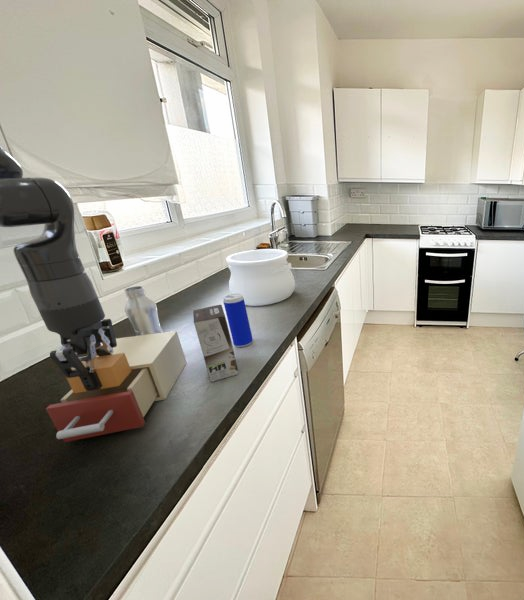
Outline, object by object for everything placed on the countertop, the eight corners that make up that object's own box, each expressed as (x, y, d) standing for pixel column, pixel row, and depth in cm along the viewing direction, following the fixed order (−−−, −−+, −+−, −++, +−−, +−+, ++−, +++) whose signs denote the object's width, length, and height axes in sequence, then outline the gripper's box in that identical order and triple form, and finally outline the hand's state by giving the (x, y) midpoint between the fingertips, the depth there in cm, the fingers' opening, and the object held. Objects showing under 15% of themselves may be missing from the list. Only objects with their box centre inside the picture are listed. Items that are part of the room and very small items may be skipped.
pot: (308, 288, 137) (303, 248, 130) (278, 310, 115) (270, 264, 108) (254, 285, 141) (247, 247, 135) (216, 306, 119) (204, 261, 112)
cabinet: (165, 399, 70) (151, 363, 66) (90, 413, 66) (72, 375, 62) (186, 362, 84) (176, 330, 80) (126, 371, 80) (112, 338, 76)
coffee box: (239, 374, 78) (225, 316, 72) (210, 382, 75) (192, 322, 69) (235, 357, 85) (222, 303, 79) (208, 364, 82) (192, 309, 76)
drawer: (131, 446, 57) (116, 412, 54) (45, 464, 53) (23, 429, 50) (169, 383, 74) (159, 354, 71) (106, 393, 70) (92, 364, 67)
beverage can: (256, 340, 94) (247, 293, 89) (245, 348, 90) (234, 300, 84) (242, 338, 95) (231, 292, 90) (230, 346, 91) (218, 299, 85)
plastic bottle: (140, 356, 87) (115, 288, 79) (170, 347, 91) (148, 282, 83) (143, 365, 82) (117, 295, 75) (174, 356, 86) (151, 288, 79)
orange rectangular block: (73, 393, 58) (64, 373, 56) (90, 377, 62) (81, 358, 61) (119, 386, 60) (110, 366, 58) (131, 371, 64) (124, 352, 63)
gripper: (68, 313, 49) (107, 399, 56) (114, 284, 62) (142, 357, 68) (6, 319, 47) (54, 408, 54) (67, 288, 60) (100, 363, 66)
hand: (103, 379), depth 61 cm, fingers closed on orange rectangular block, 5 cm apart
